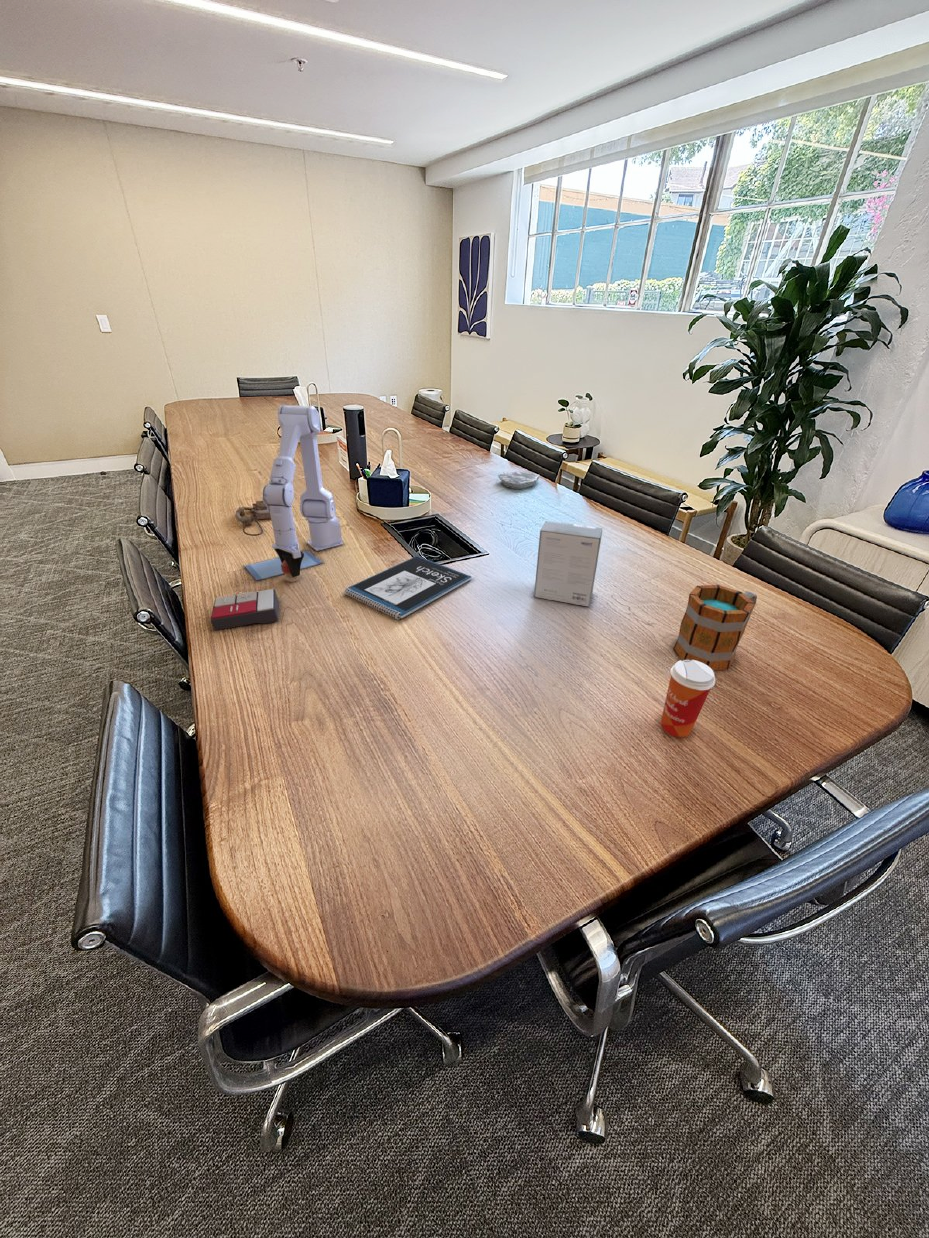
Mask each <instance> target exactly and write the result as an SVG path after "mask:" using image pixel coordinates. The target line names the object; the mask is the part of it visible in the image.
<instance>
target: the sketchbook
mask: <svg viewBox="0 0 929 1238" xmlns="http://www.w3.org/2000/svg"><path fill="white" fill-rule="evenodd" d="M470 581H472V576H471V575H469V574H466V573H463V572H461V571H458V570H456V569H453V568H450V567H448V566H446V565H443V564H440V563H437V562H435V561H432V560H429V559H428V558H424V557H422V556H420V555H415V556H413V557H411V558H409V559H407V560H405V561H402V562H400V563H398V564H396V565H394V566H391V567H389V568H387V569H385V570H383V571H380V572H379V573H376V574H374V575H372V576H370V577H367V578H366V579H363V580H361V581H358V582H356V583H354V584H352V585H350V586H347V587H346V588H344V592H343V593H344V595H346V596H348V597H350V598H352V599H353V600H356V601H358V602H360V603H363V604H365V605H367V606H369V607H371V608H373V609H375V610H377V611H379V612H381V613H383V614H385V615H387V616H390V617H392V618H393V619H396V620H397V621H398V620H402V619H404V618H406V617H408V616H410V615H411V614H413V613H415V612H416V611H419V610H421V609H422V608H424V607H425V606H427V605H430V604H431V603H433V602H434V601H436V600H438V599H440V598H442V597H443V596H445V595H447V594H449V593H450V592H453V591H454V590H456V589H457V588H459V587H461V586H462V585H464V584H466V583H468V582H470Z"/></svg>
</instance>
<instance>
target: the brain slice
mask: <svg viewBox="0 0 929 1238" xmlns="http://www.w3.org/2000/svg"><path fill="white" fill-rule="evenodd" d="M497 476H498V479H499V480H500V481H501V482H502V484H503V485H504V486H505V487H507V488H510V489H512V490H524V489H528V488H530V487H533V486H534V485H535V484H536V483H537V482H538V481H539V478H540V477H541V475H540V474H537V473H534V472H530V471H519V470H518V471H504V472H503V473H500V474H498V475H497Z"/></svg>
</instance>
